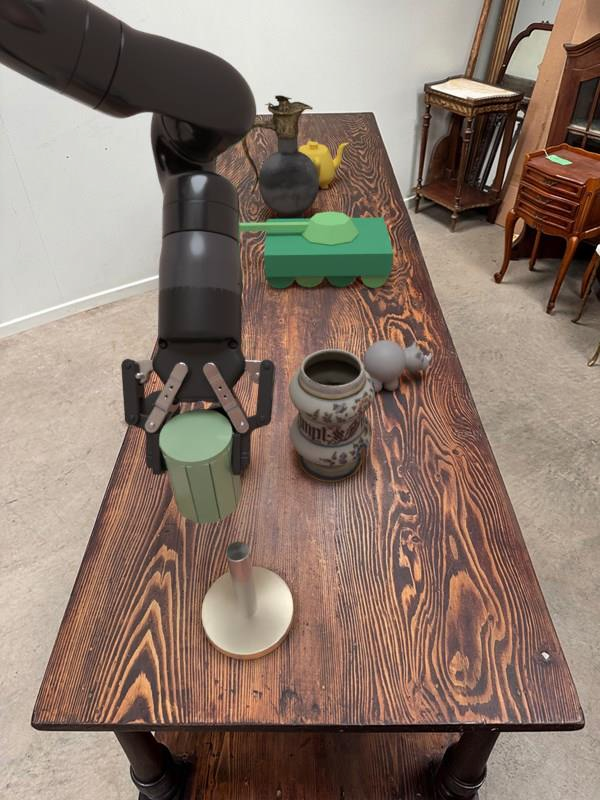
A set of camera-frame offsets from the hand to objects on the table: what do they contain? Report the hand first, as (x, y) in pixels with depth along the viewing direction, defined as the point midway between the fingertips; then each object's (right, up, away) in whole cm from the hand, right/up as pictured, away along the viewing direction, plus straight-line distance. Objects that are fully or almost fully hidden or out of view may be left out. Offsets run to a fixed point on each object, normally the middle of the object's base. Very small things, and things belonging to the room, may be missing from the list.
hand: (199, 474), depth 49 cm
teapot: (+15, +72, +114) cm, 136 cm away
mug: (-2, -3, +34) cm, 35 cm away
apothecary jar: (+14, -2, +34) cm, 37 cm away
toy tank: (+11, +37, +76) cm, 85 cm away
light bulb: (-12, 0, +37) cm, 39 cm away
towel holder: (+3, -19, +16) cm, 25 cm away
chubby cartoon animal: (+26, +10, +47) cm, 55 cm away
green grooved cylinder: (0, -3, +5) cm, 6 cm away
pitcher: (+5, +56, +97) cm, 112 cm away
